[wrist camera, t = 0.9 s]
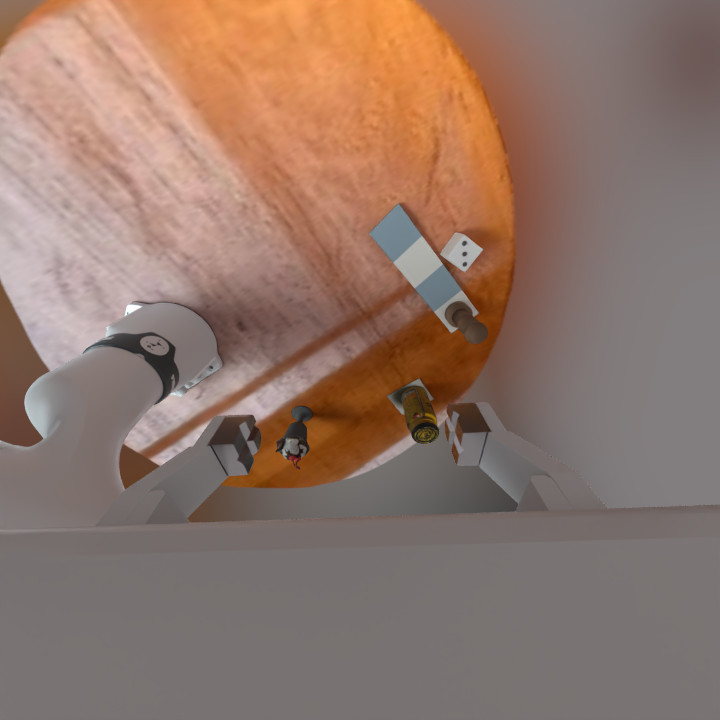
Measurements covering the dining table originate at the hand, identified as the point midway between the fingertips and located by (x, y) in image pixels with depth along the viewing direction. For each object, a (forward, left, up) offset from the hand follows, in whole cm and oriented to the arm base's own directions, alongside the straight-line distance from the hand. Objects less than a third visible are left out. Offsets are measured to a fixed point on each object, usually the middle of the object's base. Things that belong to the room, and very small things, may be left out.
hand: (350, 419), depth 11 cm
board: (+7, -11, -38) cm, 41 cm away
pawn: (+7, -20, -38) cm, 43 cm away
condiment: (-12, -31, -39) cm, 51 cm away
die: (+13, -11, -39) cm, 42 cm away
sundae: (-34, -17, -39) cm, 54 cm away
